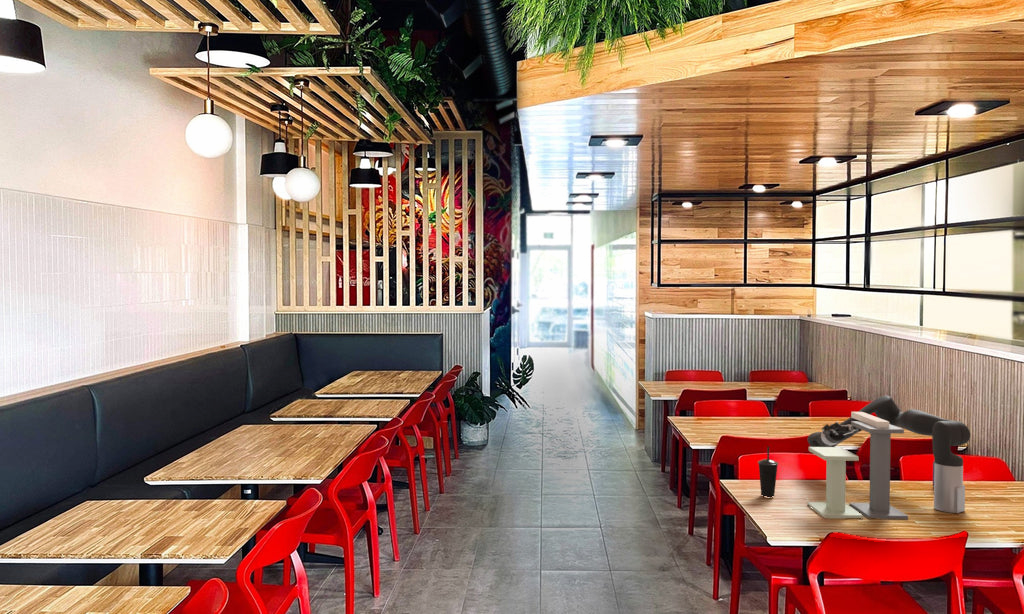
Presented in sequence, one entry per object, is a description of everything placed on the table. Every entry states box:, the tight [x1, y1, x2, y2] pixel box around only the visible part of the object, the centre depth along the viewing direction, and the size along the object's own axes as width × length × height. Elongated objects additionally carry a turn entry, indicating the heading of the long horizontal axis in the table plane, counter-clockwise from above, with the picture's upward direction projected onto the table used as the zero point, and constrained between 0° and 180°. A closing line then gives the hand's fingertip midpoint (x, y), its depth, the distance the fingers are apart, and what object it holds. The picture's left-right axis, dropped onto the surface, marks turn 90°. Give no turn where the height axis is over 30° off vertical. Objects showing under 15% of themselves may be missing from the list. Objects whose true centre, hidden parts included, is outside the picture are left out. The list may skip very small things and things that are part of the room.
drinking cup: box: [757, 446, 779, 497], centre depth 292 cm, size 8×8×20 cm
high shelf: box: [849, 421, 909, 520], centre depth 272 cm, size 18×14×32 cm
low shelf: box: [807, 446, 864, 519], centre depth 273 cm, size 18×14×22 cm
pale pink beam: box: [850, 411, 889, 428], centre depth 279 cm, size 22×4×2 cm, turn 178°
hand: (848, 424), depth 296 cm, fingers open, 8 cm apart
